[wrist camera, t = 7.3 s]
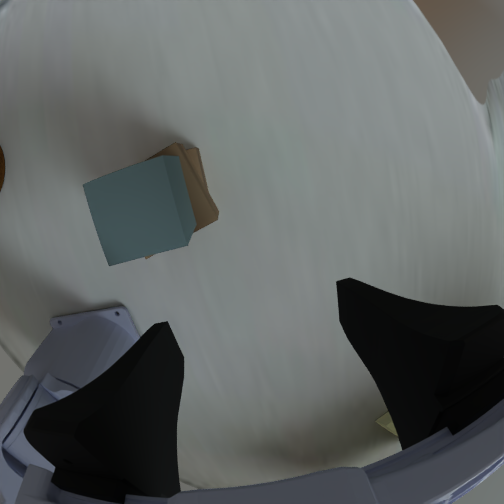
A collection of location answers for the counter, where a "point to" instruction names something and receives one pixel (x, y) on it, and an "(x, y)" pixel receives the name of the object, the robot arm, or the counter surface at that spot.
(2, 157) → the disposable coffee cup
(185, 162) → the top slab
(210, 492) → the robot arm
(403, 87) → the counter surface
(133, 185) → the cube
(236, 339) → the counter surface
